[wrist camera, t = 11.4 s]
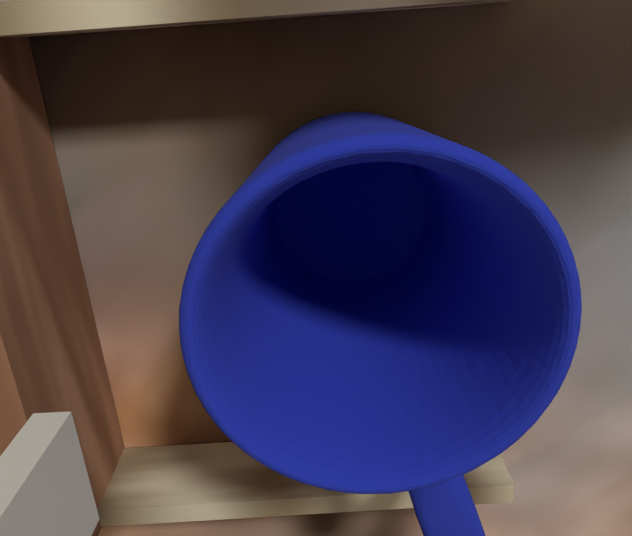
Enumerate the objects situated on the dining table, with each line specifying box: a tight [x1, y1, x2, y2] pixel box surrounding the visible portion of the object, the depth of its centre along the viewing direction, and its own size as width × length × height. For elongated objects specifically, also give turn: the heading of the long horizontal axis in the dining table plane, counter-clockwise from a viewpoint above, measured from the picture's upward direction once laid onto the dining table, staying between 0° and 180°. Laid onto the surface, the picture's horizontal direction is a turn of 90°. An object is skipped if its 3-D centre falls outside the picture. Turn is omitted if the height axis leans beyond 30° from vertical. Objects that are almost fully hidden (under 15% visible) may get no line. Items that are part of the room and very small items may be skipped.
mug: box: [179, 112, 582, 536], centre depth 17 cm, size 8×12×10 cm
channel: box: [0, 0, 520, 536], centre depth 19 cm, size 17×18×6 cm
